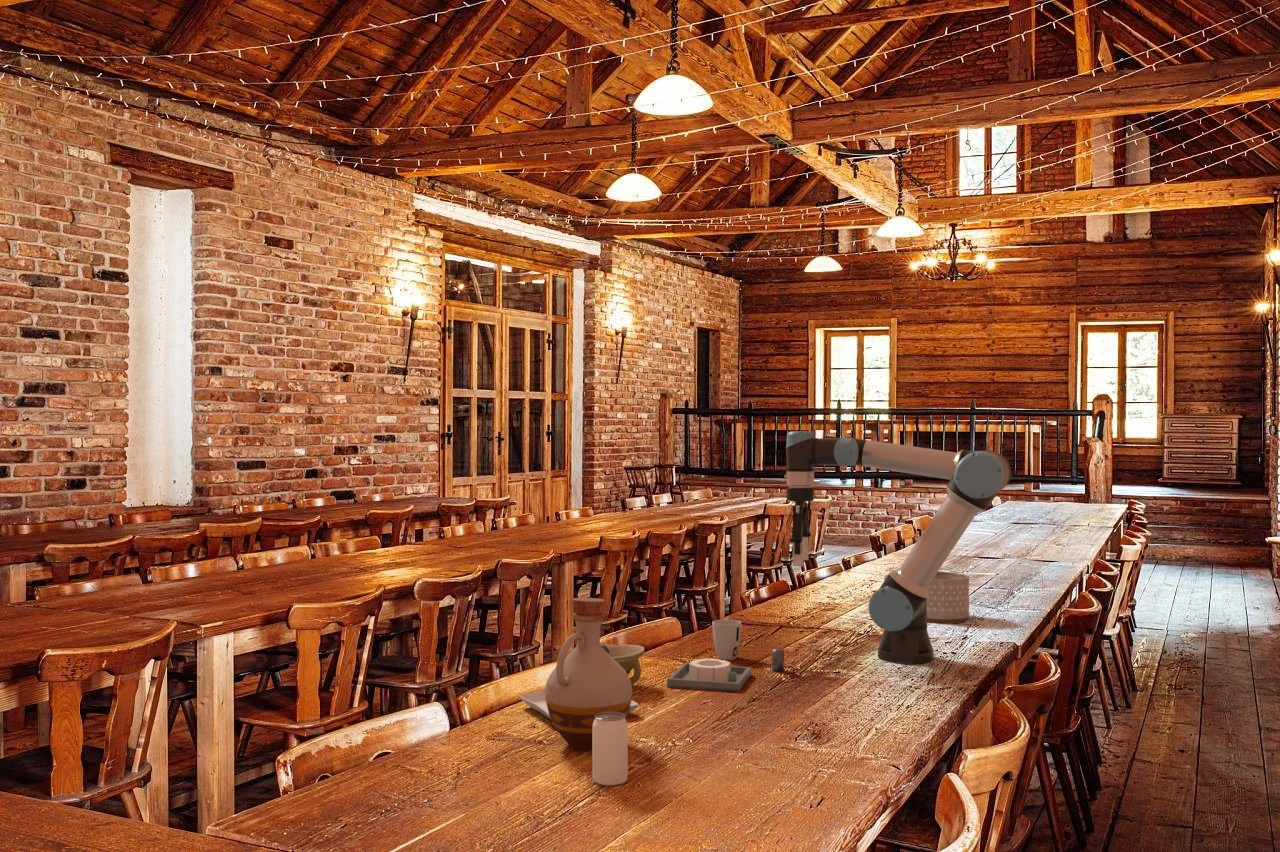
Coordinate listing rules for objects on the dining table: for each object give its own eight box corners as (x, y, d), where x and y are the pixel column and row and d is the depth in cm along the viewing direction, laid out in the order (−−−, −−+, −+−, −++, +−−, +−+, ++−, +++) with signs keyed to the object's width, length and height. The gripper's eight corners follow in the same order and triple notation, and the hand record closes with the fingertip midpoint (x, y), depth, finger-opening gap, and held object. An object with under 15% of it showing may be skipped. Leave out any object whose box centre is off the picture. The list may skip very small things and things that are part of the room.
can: (591, 775, 201) (591, 711, 201) (626, 774, 202) (626, 710, 202) (593, 787, 195) (593, 721, 195) (628, 786, 195) (628, 720, 195)
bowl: (656, 682, 273) (656, 644, 273) (625, 698, 257) (625, 658, 256) (594, 675, 280) (594, 638, 280) (561, 691, 264) (561, 652, 264)
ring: (695, 673, 280) (695, 657, 280) (738, 675, 277) (738, 660, 277) (686, 682, 270) (686, 666, 270) (731, 685, 267) (731, 669, 267)
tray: (751, 674, 280) (751, 667, 280) (738, 691, 263) (738, 683, 263) (683, 670, 285) (683, 663, 285) (667, 687, 268) (667, 679, 267)
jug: (595, 766, 206) (595, 610, 206) (521, 751, 216) (521, 602, 216) (648, 740, 223) (648, 595, 223) (578, 727, 233) (578, 588, 232)
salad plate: (553, 731, 231) (553, 715, 231) (517, 708, 250) (517, 693, 250) (641, 718, 241) (641, 703, 241) (600, 696, 260) (600, 682, 260)
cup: (739, 661, 295) (739, 625, 295) (710, 660, 297) (710, 624, 297) (742, 655, 303) (742, 620, 303) (714, 654, 305) (714, 619, 305)
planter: (975, 617, 362) (975, 574, 361) (959, 626, 346) (959, 581, 346) (921, 611, 372) (921, 570, 371) (903, 620, 356) (903, 576, 356)
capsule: (785, 669, 286) (785, 648, 286) (783, 672, 283) (783, 651, 283) (773, 668, 287) (773, 648, 287) (771, 671, 284) (771, 650, 284)
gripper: (792, 483, 312) (792, 557, 312) (780, 489, 288) (781, 568, 288) (818, 484, 310) (818, 557, 310) (809, 489, 286) (809, 569, 286)
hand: (800, 563), depth 299 cm, fingers open, 13 cm apart
